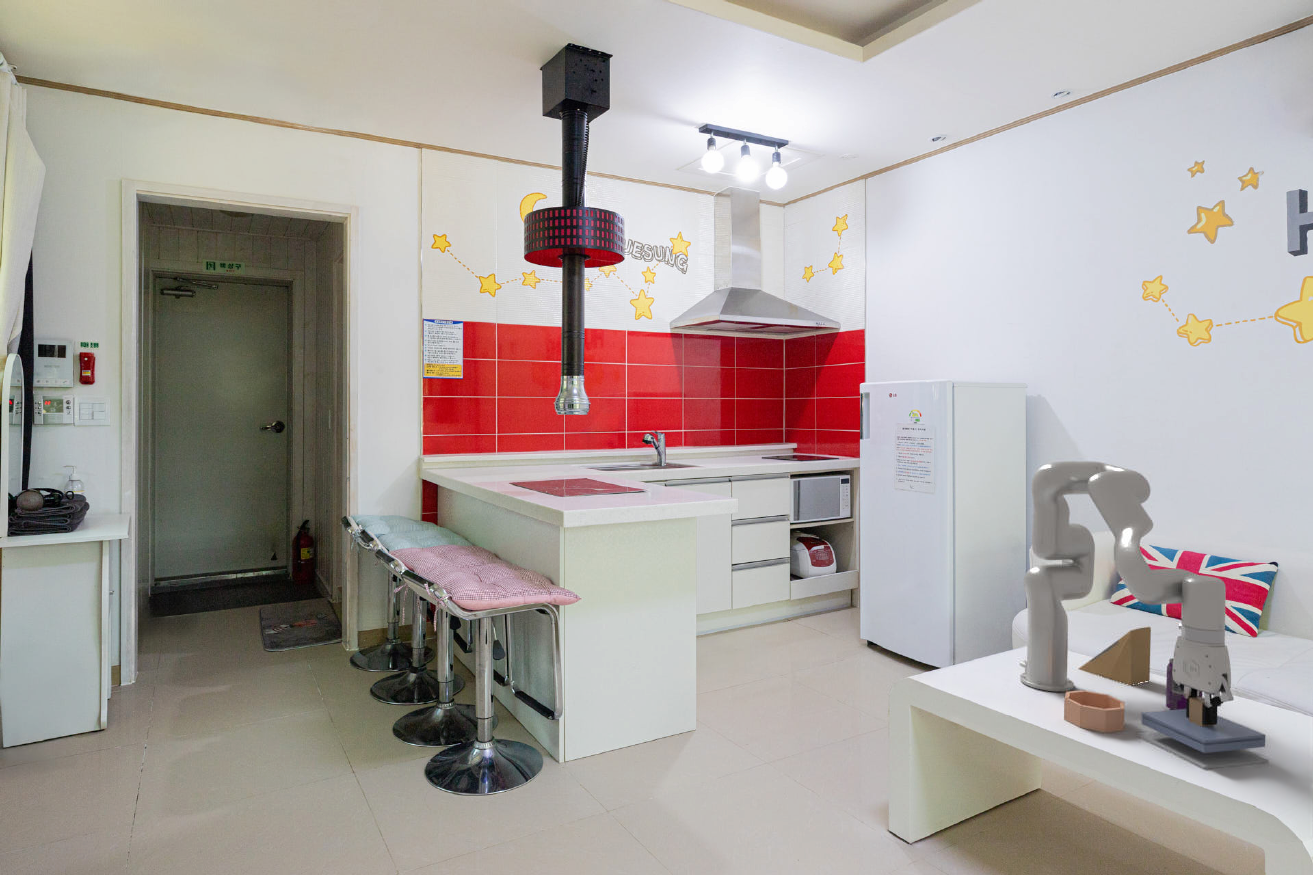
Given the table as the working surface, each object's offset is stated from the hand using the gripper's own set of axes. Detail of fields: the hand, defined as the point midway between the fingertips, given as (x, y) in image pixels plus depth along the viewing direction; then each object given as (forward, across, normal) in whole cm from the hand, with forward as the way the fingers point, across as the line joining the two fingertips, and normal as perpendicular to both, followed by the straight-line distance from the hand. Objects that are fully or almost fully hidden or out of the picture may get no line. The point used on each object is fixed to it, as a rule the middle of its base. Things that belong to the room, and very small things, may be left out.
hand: (1201, 720), depth 159 cm
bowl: (+6, -17, -11) cm, 21 cm away
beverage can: (+6, -18, +15) cm, 24 cm away
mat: (+6, 0, 0) cm, 6 cm away
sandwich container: (+6, -44, +19) cm, 49 cm away
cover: (+3, 0, 0) cm, 3 cm away
